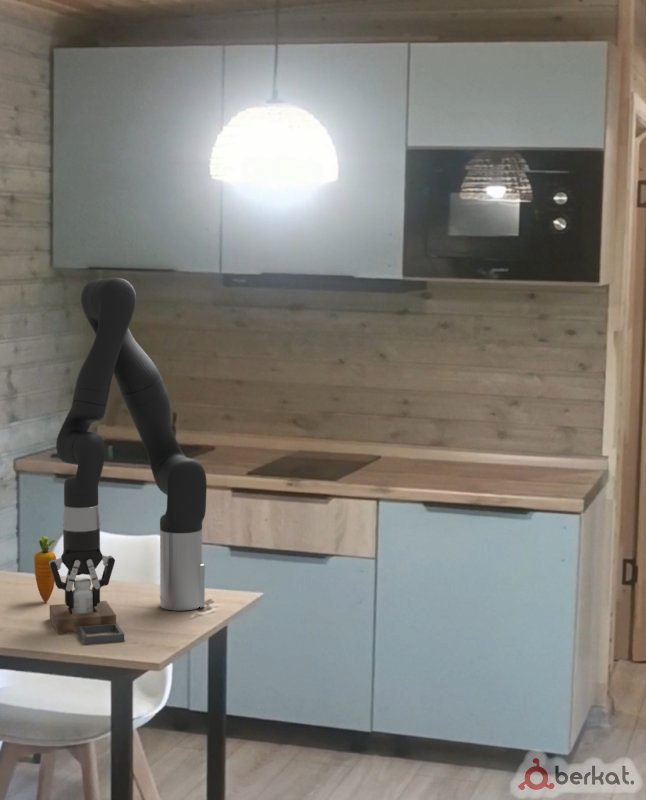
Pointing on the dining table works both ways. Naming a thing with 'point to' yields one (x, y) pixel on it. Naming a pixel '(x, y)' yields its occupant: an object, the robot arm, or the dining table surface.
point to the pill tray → (101, 638)
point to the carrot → (44, 569)
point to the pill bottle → (82, 596)
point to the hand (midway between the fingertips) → (82, 606)
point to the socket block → (80, 617)
